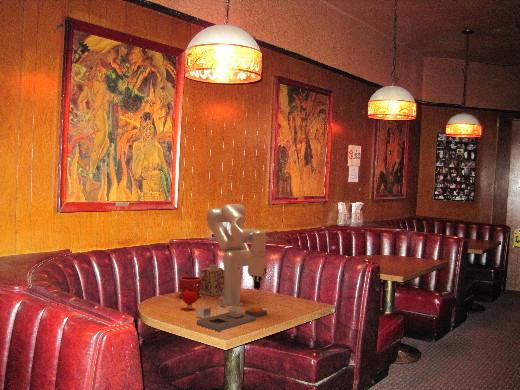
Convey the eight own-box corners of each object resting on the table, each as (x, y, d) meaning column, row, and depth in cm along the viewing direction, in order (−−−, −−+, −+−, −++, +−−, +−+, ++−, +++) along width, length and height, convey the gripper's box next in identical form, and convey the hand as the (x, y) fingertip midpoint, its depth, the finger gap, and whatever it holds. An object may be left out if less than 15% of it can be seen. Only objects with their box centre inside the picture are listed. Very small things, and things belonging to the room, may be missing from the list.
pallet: (196, 325, 252) (197, 320, 252) (233, 315, 272) (233, 310, 272) (219, 332, 241) (219, 327, 241) (255, 322, 261) (256, 317, 261)
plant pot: (204, 298, 306) (205, 278, 305) (184, 301, 299) (185, 280, 298) (195, 293, 317) (195, 274, 316) (175, 296, 310) (176, 276, 309)
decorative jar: (212, 296, 311) (213, 267, 310) (199, 293, 319) (200, 264, 318) (226, 293, 320) (226, 265, 319) (213, 290, 328) (213, 262, 327)
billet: (196, 319, 263) (197, 307, 263) (203, 317, 267) (204, 305, 267) (203, 321, 260) (203, 309, 260) (210, 319, 264) (210, 307, 263)
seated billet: (229, 319, 261) (229, 307, 261) (235, 317, 265) (236, 305, 265) (236, 321, 258) (236, 309, 258) (242, 319, 262) (243, 307, 261)
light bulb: (199, 308, 282) (200, 291, 282) (193, 311, 276) (193, 293, 276) (185, 306, 286) (186, 288, 286) (178, 309, 280) (179, 291, 279)
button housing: (245, 316, 271) (245, 310, 271) (255, 313, 277) (255, 307, 277) (256, 319, 266) (256, 313, 266) (266, 316, 272) (266, 310, 272)
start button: (250, 311, 271) (250, 306, 271) (255, 310, 275) (256, 305, 275) (256, 313, 269) (256, 308, 268) (262, 311, 272) (262, 307, 272)
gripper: (243, 252, 272) (241, 286, 273) (264, 256, 263) (263, 291, 263) (252, 251, 278) (251, 284, 279) (273, 255, 268) (272, 289, 269)
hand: (257, 288), depth 271 cm, fingers closed
